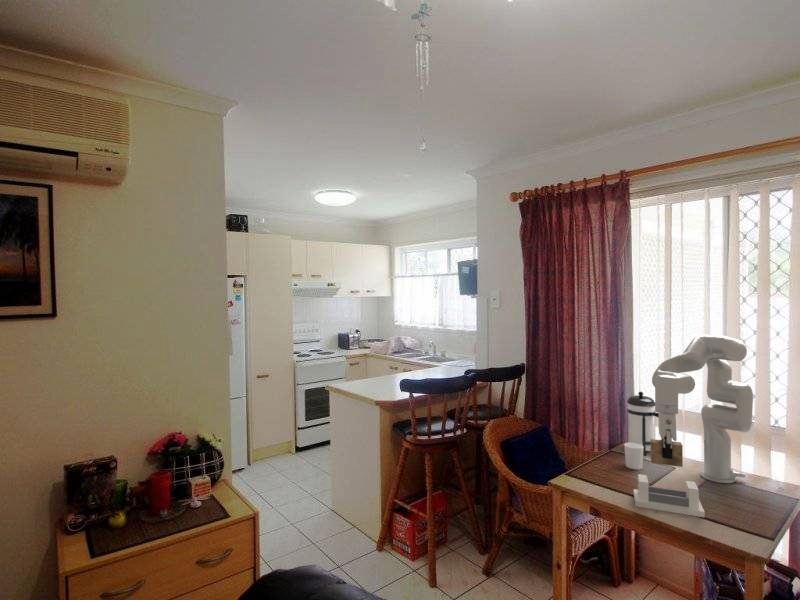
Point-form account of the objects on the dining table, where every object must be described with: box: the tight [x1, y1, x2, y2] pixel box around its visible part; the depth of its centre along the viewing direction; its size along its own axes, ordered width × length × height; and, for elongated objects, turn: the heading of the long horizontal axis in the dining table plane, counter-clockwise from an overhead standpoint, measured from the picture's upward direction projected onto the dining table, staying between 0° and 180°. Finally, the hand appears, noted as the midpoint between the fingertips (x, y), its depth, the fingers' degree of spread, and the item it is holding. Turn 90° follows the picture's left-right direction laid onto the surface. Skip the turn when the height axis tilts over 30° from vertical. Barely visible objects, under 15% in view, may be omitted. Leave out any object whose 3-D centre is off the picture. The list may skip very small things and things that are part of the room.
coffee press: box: [626, 391, 659, 456], centre depth 225 cm, size 17×16×30 cm
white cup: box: [623, 442, 644, 470], centre depth 206 cm, size 8×8×10 cm
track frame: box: [633, 473, 706, 518], centre depth 169 cm, size 22×11×9 cm, turn 66°
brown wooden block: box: [650, 438, 684, 468], centre depth 169 cm, size 10×4×8 cm, turn 66°
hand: (666, 455), depth 169 cm, fingers closed on brown wooden block, 4 cm apart
